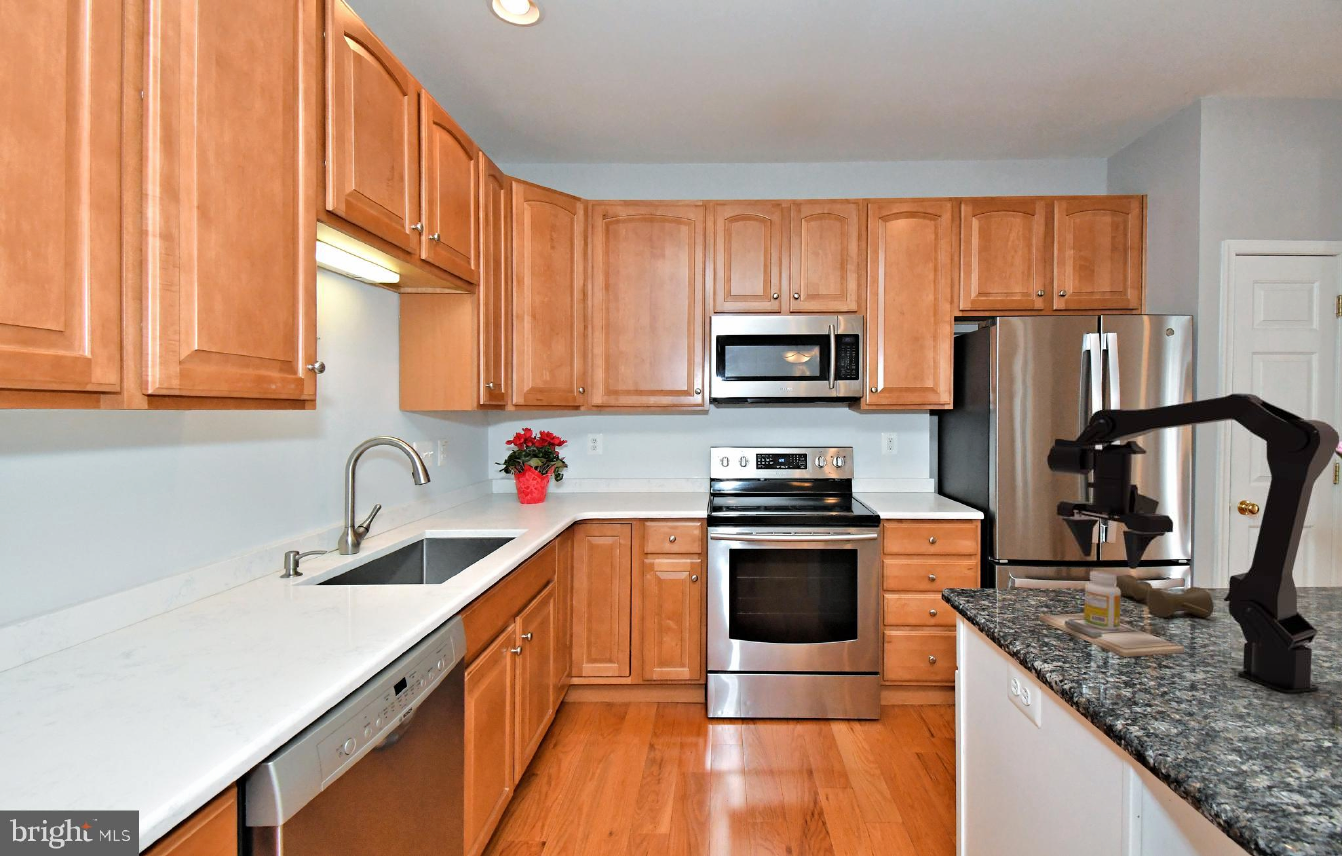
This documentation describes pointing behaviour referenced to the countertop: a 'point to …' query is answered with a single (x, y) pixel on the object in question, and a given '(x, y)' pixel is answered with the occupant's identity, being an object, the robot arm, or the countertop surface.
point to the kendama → (1167, 598)
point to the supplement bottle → (1102, 601)
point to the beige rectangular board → (1113, 636)
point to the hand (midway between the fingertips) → (1109, 562)
